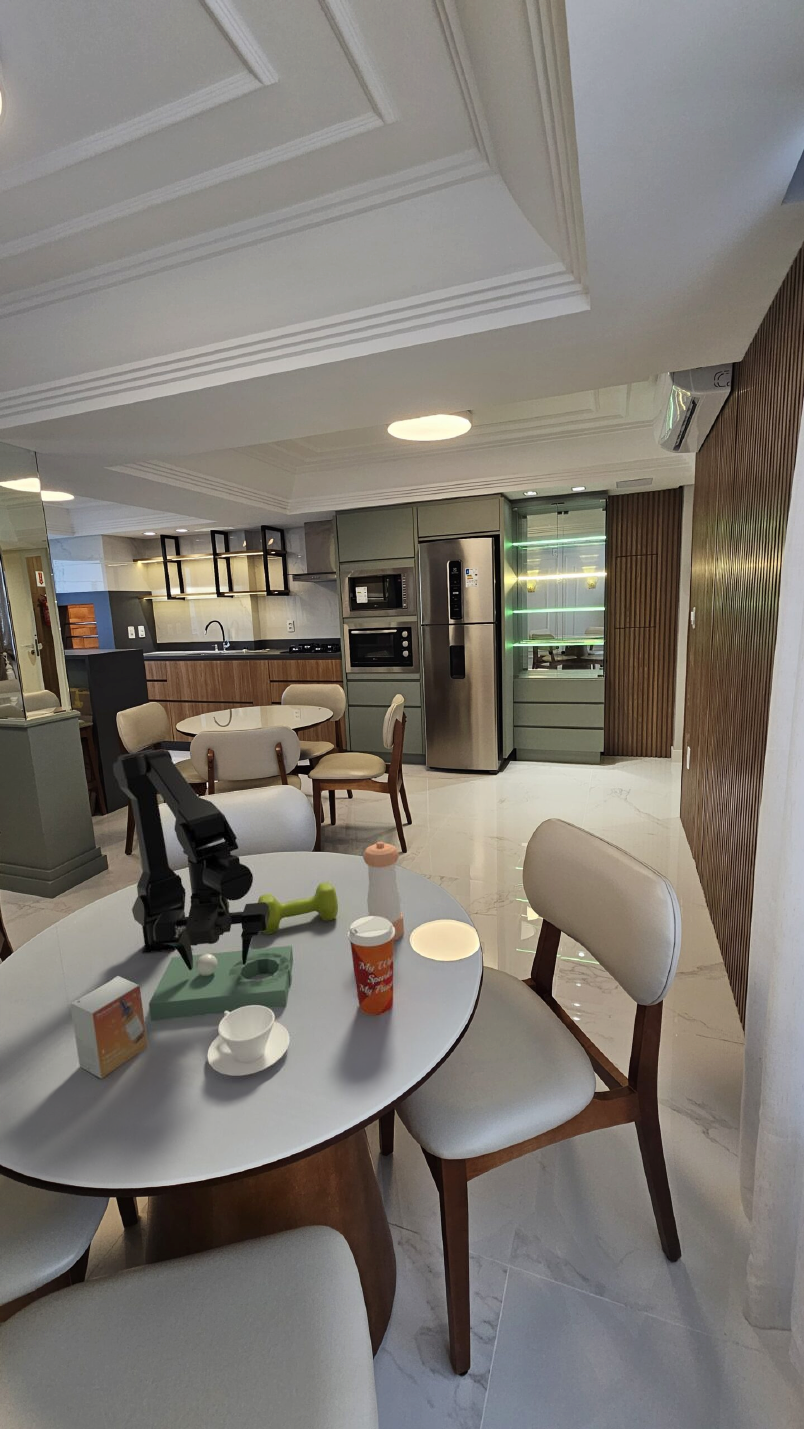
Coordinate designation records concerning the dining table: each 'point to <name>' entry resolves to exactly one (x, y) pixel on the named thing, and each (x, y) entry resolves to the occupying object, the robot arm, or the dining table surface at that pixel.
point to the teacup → (248, 1041)
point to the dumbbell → (302, 906)
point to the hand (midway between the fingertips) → (218, 966)
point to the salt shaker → (384, 885)
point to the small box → (109, 1026)
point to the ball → (206, 965)
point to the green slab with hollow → (224, 984)
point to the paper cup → (373, 963)
